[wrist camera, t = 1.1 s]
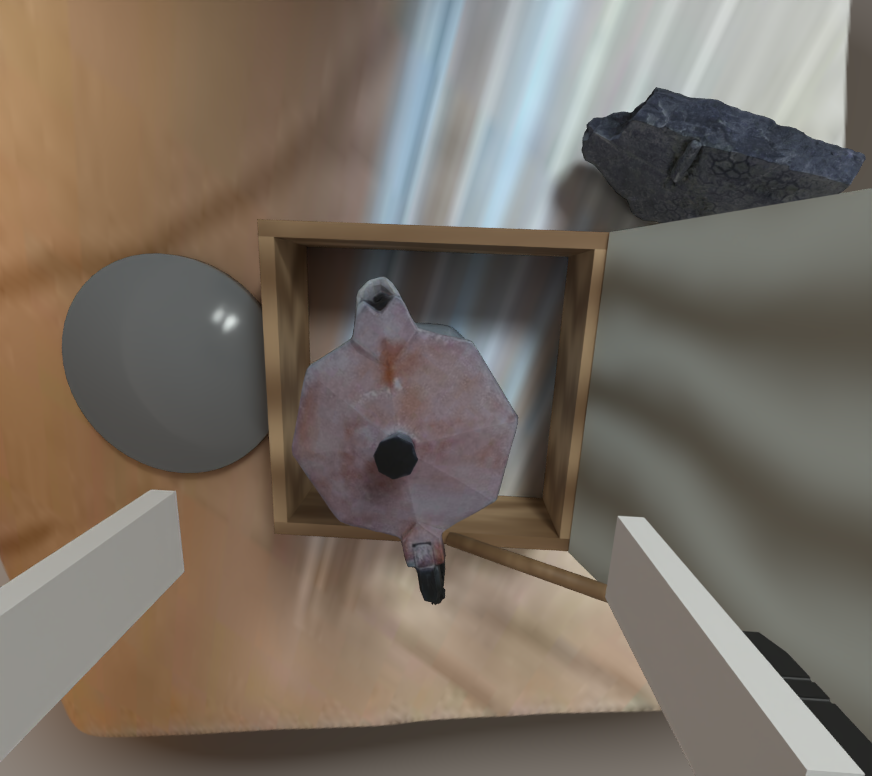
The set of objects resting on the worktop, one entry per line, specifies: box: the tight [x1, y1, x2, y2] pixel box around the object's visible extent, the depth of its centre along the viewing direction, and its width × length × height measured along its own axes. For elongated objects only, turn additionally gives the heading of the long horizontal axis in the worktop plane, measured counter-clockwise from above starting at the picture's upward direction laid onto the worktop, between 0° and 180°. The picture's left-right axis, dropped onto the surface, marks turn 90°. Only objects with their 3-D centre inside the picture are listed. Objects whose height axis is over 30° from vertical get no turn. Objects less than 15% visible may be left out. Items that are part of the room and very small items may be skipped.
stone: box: [582, 87, 865, 223], centre depth 25 cm, size 14×6×10 cm, turn 78°
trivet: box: [62, 254, 269, 473], centre depth 34 cm, size 18×18×1 cm
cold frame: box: [257, 188, 872, 743], centre depth 21 cm, size 22×30×27 cm
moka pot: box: [292, 277, 518, 605], centre depth 24 cm, size 10×15×20 cm, turn 14°
